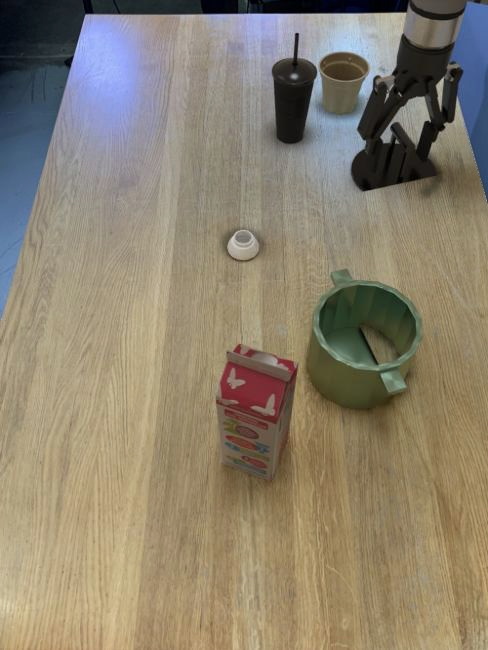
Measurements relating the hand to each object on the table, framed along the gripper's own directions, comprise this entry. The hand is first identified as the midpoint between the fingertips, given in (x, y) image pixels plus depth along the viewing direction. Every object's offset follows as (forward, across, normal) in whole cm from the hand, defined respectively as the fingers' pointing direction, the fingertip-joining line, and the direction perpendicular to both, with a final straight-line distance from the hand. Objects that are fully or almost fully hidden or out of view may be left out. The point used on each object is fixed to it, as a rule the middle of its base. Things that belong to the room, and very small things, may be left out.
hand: (396, 162), depth 103 cm
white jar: (+3, +30, +9) cm, 31 cm away
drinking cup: (+3, +14, -15) cm, 21 cm away
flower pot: (+3, +2, -21) cm, 21 cm away
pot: (+3, +21, +34) cm, 40 cm away
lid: (+2, 0, 0) cm, 2 cm away
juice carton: (+3, +38, +42) cm, 57 cm away
